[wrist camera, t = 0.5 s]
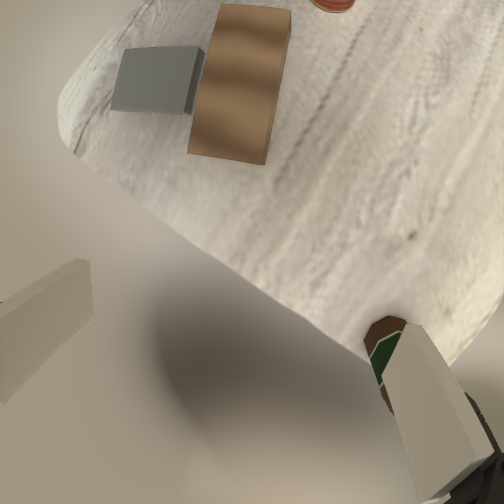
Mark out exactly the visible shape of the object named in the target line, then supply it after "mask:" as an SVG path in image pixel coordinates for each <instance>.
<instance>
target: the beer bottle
mask: <svg viewBox="0 0 504 504" xmlns="http://www.w3.org/2000/svg"><path fill="white" fill-rule="evenodd" d="M406 323H407V322H406V321H405V320H402V319H398V318H394V317H389V316H388V317H386V318H384V319H382V320H380V321H378V322H377V323H375V324H373V325H372V326H371V328H370V330H369V332H368V334H367V336H366V338H365V340H364V343H365V347H366V350H367V353H368V355H369V358H370V361H371V364H372V367H373V369H374V372H375V375H376V378H377V381H378V384H379V387H380V390H381V392H382V395H383V397H384V399H385V401H386V403H387V406H388V408H389V410H390V412H392V413H393V415H394V411H393V408H392V405H391V402H390V399H389V396H388V393H387V390H386V387H385V384H384V381H383V379H382V376H381V375H382V373H383V372H384V370H385V368H386V366H387V364H388V362H389V360H390V358H391V356H392V354H393V352H394V350H395V347H396V345H397V343H398V341H399V339H400V337H401V334H402V332H403V330H404V328H405V325H406Z"/></svg>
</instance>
